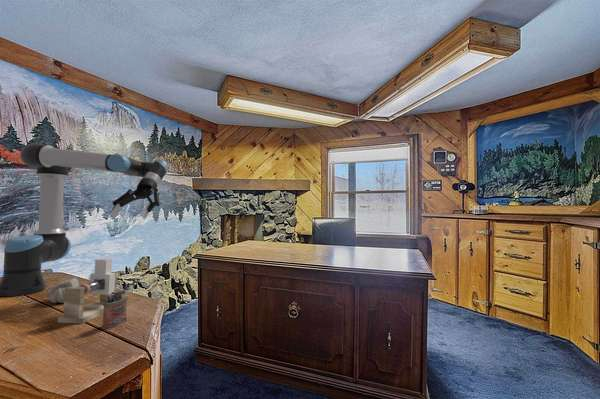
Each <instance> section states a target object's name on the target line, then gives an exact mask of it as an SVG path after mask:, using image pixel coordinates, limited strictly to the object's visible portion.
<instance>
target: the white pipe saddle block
mask: <svg viewBox="0 0 600 399" xmlns="http://www.w3.org/2000/svg"><path fill="white" fill-rule="evenodd" d="M112 263H113V259H112V258H98V259H95V260H94V272H93V273H90V274H89V276H90V277H89V283H91V282H94V281H97V280H101V279H105V288H100V289H98V290H95V291H92V292H89V293H88V294H89V295H100V294H104V295H109V294H111V293H112V292H114V289H115V277H116V272H112Z"/></svg>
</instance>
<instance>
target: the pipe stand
mask: <svg viewBox="0 0 600 399" xmlns="http://www.w3.org/2000/svg"><path fill="white" fill-rule="evenodd" d="M100 288H105V279H100V280H97V281H94V282H91V283H90V282H89V283H84V284H81V285H80V286H79V287H68V288H65V297H64V303H63V315H61V316H58V317H57V323H61V324H64V323H65V324H84V323H87V322H89V321H91V320H92V319H95V318H97V317H98V316H99V317H100V316H101V315H103V312H104V306H103V303H104V302H106V301H108V299H107V296H108V295H104V294H99V295H100V296H99V297H100V298H99V300H97V301H95V302H92V303H90V304H88V305H85V306H84V302H85V301H84V300H85V295H87V294H89V292H92V291H95V290H98V289H100ZM117 290H118V276H115V289H114V292H118V291H117Z"/></svg>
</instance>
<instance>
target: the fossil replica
mask: <svg viewBox="0 0 600 399" xmlns="http://www.w3.org/2000/svg"><path fill="white" fill-rule="evenodd" d="M79 286H81V285H80V283H79V281H78V279H77V277H73V278H69V279H67V280H66V279H65V280H62V281H61V282H59V283H57V284H55V285H53V286H52V287H51V288H50V290H47V292H46V295H45V298H48V300H49V301H50V302H51V303H52V304H57V303H58V304H59V303H61V304H64V297H65V288H68V287H79Z"/></svg>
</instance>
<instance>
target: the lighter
mask: <svg viewBox="0 0 600 399" xmlns="http://www.w3.org/2000/svg"><path fill="white" fill-rule="evenodd" d="M125 294H126V290H125V289H121V290H118V291H117V292H112V293H111V294H109V295H108V296H107V299H108V301H106V302H104V303H103V306H104V312H103V314H102V315H103V316H102V324H101V329H102V330H110V329H113V328H116V327H118V326H120V325H122V324H124V323H126V322H127V321H128V320H127V318H128V317H127V307H128V306H127V305H128V296H123V295H125Z"/></svg>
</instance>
